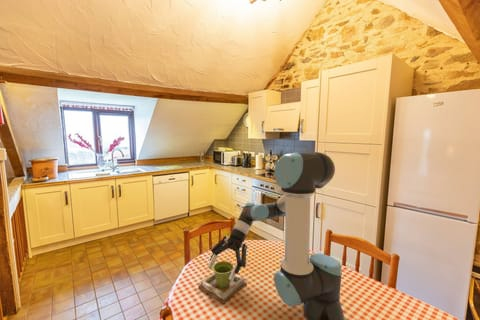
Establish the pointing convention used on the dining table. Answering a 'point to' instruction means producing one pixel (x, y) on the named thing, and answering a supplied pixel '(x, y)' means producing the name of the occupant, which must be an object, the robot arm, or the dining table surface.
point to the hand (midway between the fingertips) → (219, 274)
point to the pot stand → (222, 293)
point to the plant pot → (223, 273)
